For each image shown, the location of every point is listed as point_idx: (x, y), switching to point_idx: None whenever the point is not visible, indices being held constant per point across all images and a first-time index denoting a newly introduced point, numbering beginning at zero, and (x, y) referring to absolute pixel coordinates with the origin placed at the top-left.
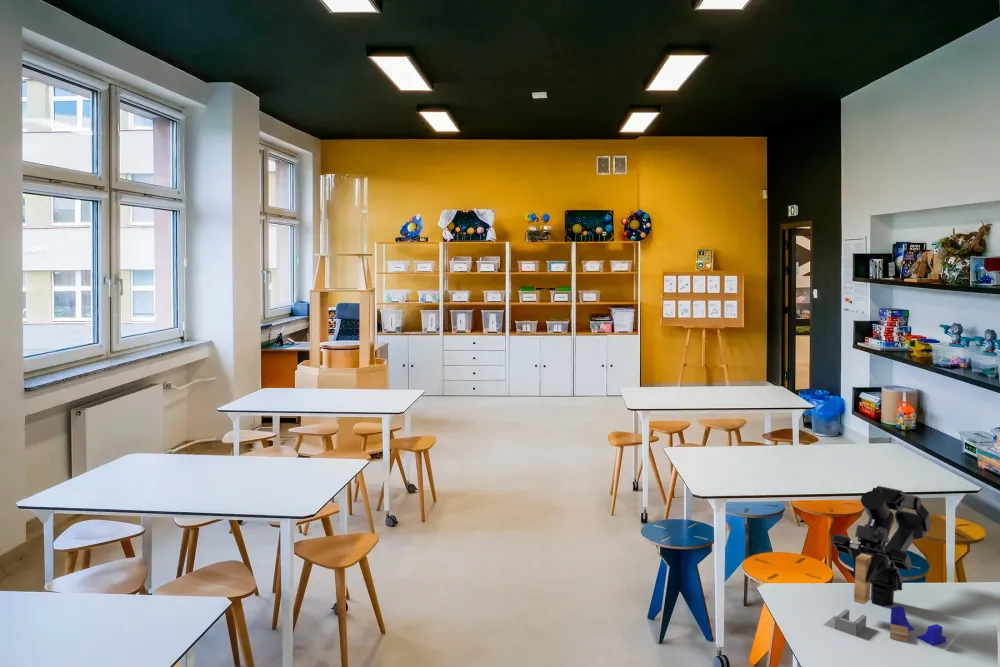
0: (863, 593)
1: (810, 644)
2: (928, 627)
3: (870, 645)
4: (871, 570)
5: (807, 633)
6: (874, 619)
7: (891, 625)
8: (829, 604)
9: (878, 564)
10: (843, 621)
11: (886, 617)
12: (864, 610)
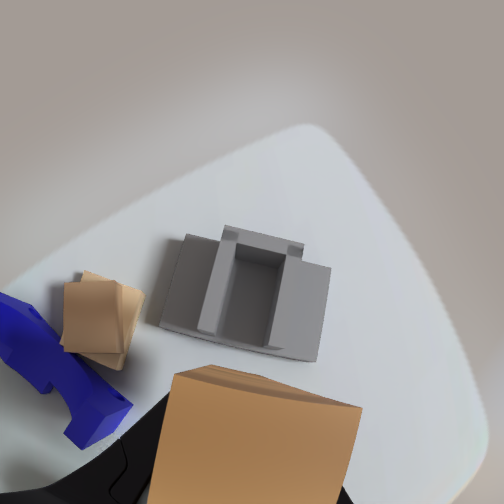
0: (213, 366)
1: (327, 175)
2: (1, 301)
3: (180, 251)
4: (143, 435)
5: (353, 229)
6: None
7: (111, 337)
8: None
9: (61, 482)
10: (271, 237)
11: None
12: None
